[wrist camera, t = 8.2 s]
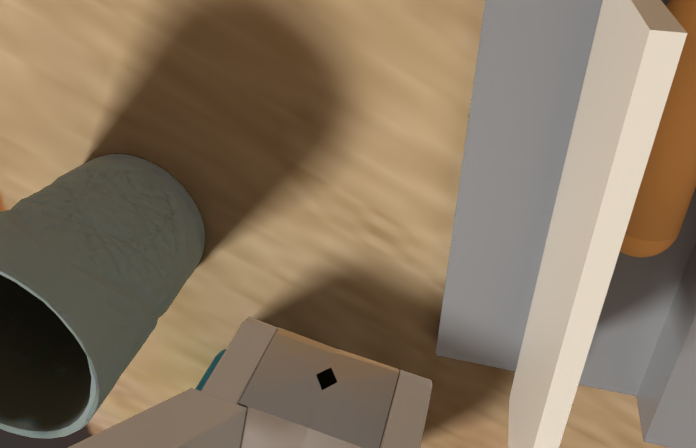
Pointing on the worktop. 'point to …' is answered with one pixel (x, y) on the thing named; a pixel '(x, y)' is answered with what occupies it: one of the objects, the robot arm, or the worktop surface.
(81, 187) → the teal cup
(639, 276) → the grooved grey base
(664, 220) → the orange capsule pill
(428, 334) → the worktop surface
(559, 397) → the cover
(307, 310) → the worktop surface
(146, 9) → the worktop surface
